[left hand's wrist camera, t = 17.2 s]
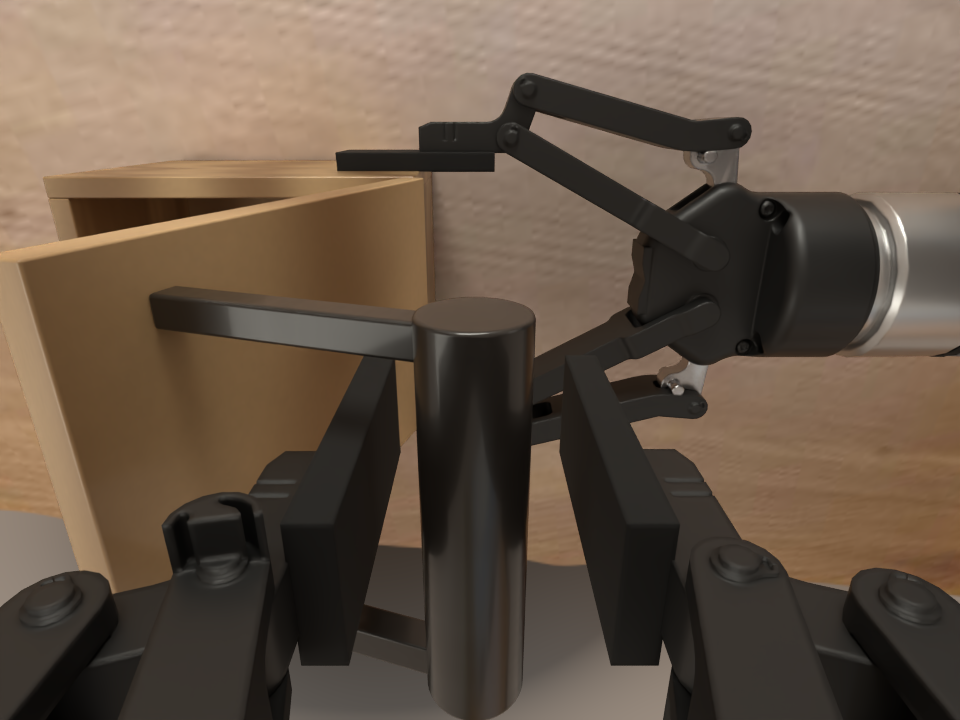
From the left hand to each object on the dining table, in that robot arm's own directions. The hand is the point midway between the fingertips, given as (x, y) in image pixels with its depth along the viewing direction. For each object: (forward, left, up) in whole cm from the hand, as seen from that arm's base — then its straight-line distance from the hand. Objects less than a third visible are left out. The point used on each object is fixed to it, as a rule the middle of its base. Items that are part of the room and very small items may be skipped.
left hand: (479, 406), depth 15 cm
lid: (-5, -1, -2) cm, 6 cm away
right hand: (-6, -2, -14) cm, 15 cm away
